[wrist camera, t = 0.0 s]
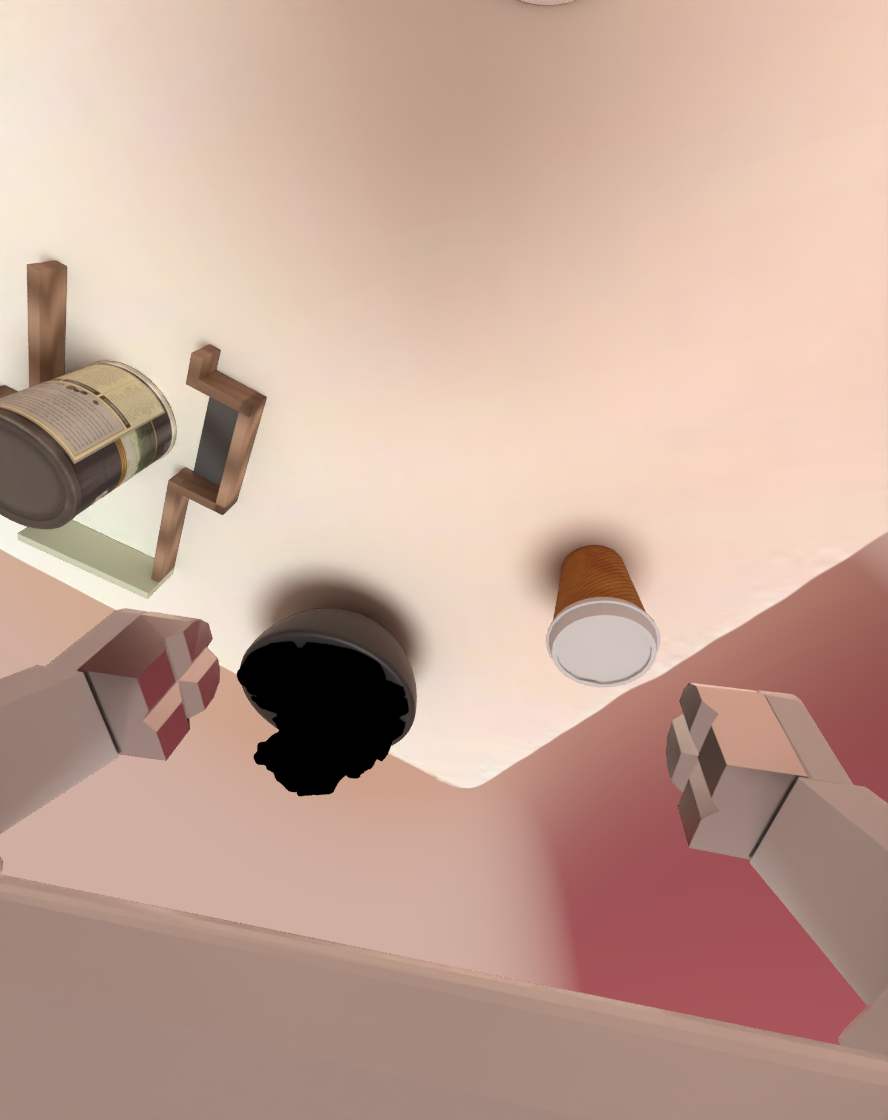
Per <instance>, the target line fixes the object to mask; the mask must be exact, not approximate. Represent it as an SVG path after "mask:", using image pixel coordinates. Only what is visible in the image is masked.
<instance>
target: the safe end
mask: <svg viewBox="0 0 888 1120" xmlns="http://www.w3.org/2000/svg"><path fill="white" fill-rule="evenodd" d="M18 540H20V541H22V542H24V543H26V544H28V545H31V546H33V547H35V548H37V549H39V550H42V551H44V552H46V553H48V554H50V555H52V556H55V557H57V558H59V559H61V560H63V561H66V562H68V563H70V564H72V565H74V566H77V567H79V568H81V569H83V570H85V571H87V572H90V573H92V574H94V575H96V576H98V577H101V578H103V579H105V580H107V581H109V582H112V583H114V584H116V585H118V586H120V587H122V588H125V589H127V590H129V591H131V592H133V593H136V594H138V595H140V596H142V597H144V598H147V599H148V598H149V597H150V596H151V595H152V594H153V593H154V592H155V591H156V590H157V589H158V588H159V587H160V586H161V585H162V584H163V583H164V582H165V581H166V580H167V579H168V578H169V577H170V576H171V575H172V574H173V570H174V568H173V569H172V570H171V571H170V572H169V573H168V574H167V575H166V576H165V577H164V578H163V579H162V580H161V581H160V582H156V581H154V580H152V579H151V576H152V570H153V565H154V558H152V557H150V556H148V555H145V554H143V553H141V552H139V551H137V550H135V549H133V548H131V547H128V546H126V545H124V544H122V543H120V542H118V541H116V540H114V539H111V538H109V537H107V536H105V535H103V534H101V533H99V532H97V531H94V530H92V529H90V528H88V527H86V526H84V525H82V524H80V523H77V522H75V521H73V520H71V521H70V522H68V523H67V524H65V525H64V526H62V527H59V528H55V529H36V528H31V527H27V528H25V529H24V530H22V531H20V532H19V533H18Z"/></svg>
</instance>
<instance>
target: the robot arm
mask: <svg viewBox="0 0 888 1120" xmlns="http://www.w3.org/2000/svg"><path fill="white" fill-rule="evenodd" d="M520 1H523V2H527V3H531V4H539V5H555V4H562V3H568V2H571V1H575V0H520ZM212 639H213V638H212V634H211V631H210V628H209V624H208V623H206V622H204V621H203V620H201V619H195V618H188V617H182V616H175V615H169V614H162V613H156V612H146V611H139V610H133V609H126V608H125V609H121V610H116V611H114V612H113V613H112V614H110V615H109V616H108V617H106V618H105V619H104V620H103V621H101V622H100V623H99V624H98V625H97V626H95V627H94V628H93V629H91V630H90V631H89V632H88V633H86V634H85V635H84V636H83V637H82V638H80V639H79V640H78V641H77V642H75V643H74V644H73V645H71V646H70V647H69V648H68V649H67V650H66V651H64V652H63V653H62V654H60V655H59V656H58V657H56V658H55V659H54V660H53V661H51V662H50V663H49V664H48V665H46V666H38V665H36V666H34V667H31V668H28V669H26V670H23V671H20V672H18V673H15V674H12V675H10V676H7V677H4V678H2V679H0V834H1V833H2V832H4V831H5V830H7V829H9V828H10V827H12V826H13V825H15V824H16V823H18V822H19V821H21V820H22V819H24V818H25V817H27V816H29V815H30V814H32V813H33V812H35V811H36V810H38V809H39V808H41V807H42V806H44V805H45V804H47V803H49V802H50V801H51V800H53V799H55V798H56V797H58V796H59V795H61V794H62V793H64V792H66V791H67V790H69V789H70V788H72V787H73V786H75V785H76V784H78V783H79V782H81V781H82V780H84V779H85V778H87V777H89V776H90V775H92V774H93V773H95V772H96V771H98V770H99V769H101V768H102V767H104V766H105V765H107V764H109V763H110V762H112V761H113V760H114V759H116V758H118V754H121V755H128V756H135V757H144V758H150V759H158V760H165V761H166V760H167V759H168V758H169V756H170V755H171V754H172V752H173V751H174V750H175V749H176V747H177V746H178V745H179V743H180V742H181V741H182V739H183V738H184V737H185V735H186V734H187V733H188V731H189V730H190V725H189V724H190V723H189V718H191V717H192V716H194V715H196V714H198V713H200V712H202V711H204V710H205V709H206V708H207V706H208V705H209V703H210V702H211V701H212V699H213V698H214V695H215V693H216V690H217V687H218V684H219V680H220V667H219V663H218V658H217V657H216V656H215V655H214V654H213V653H212V652H211V651H210V650H209V649H208V648H207V647H208V645H209V643H210V642H211V640H212ZM680 705H681V707H682V711H683V714H682V715H681V716H679V717H678V718H676V719H675V720H673V721H672V723H671V726H670V730H669V733H668V736H667V748H666V757H667V766H668V770H669V775H670V778H671V781H672V782H673V783H674V784H675V785H676V786H677V787H678V788H679V789H680V791H682V792H683V794H682V797H681V799H680V802H679V804H678V809H679V813H680V817H681V821H682V824H683V828H684V832H685V836H686V839H687V843H688V847H689V848H693V849H699V850H704V851H710V852H714V853H720V854H725V855H730V856H735V857H741V858H745V859H750V860H751V861H750V863H751V865H752V866H753V867H754V868H755V870H756V871H757V872H758V873H759V874H760V876H761V877H762V878H763V879H764V881H765V882H766V883H767V884H768V885H769V887H770V888H771V889H772V890H773V891H774V893H775V894H776V895H777V896H778V897H779V899H780V900H781V901H782V902H783V904H784V905H785V906H786V907H787V909H789V911H790V912H791V913H792V915H793V916H794V917H795V918H796V920H797V921H798V922H799V923H800V924H801V926H802V927H803V928H804V929H805V931H806V932H807V933H808V934H809V935H810V937H811V938H812V939H813V940H814V941H815V943H816V944H817V945H818V946H819V948H820V949H821V950H822V951H823V952H824V954H825V955H826V956H827V957H828V958H829V960H830V961H831V962H832V963H833V965H834V966H835V967H836V968H837V970H838V971H839V972H840V973H841V974H842V976H843V977H844V978H845V979H846V981H847V982H848V983H849V984H850V985H851V987H852V988H853V989H854V990H855V991H856V993H857V994H858V995H859V996H860V998H861V999H862V1000H863V1001H864V1002H865V1004H866V1005H867V1006H868V1007H867V1008H866V1009H865V1010H863V1012H861V1014H859V1015H858V1016H857V1017H856V1019H854V1020H853V1021H852V1022H851V1023H850V1024H849V1025H848V1026H847V1027H846V1028H845V1029H844V1031H843V1032H842V1034H841V1035H840V1037H839V1038H838V1040H839V1043H840V1045H841V1046H839V1045H834V1044H829V1043H825V1042H819V1041H815V1040H810V1039H805V1038H800V1037H795V1036H790V1035H785V1034H780V1033H775V1032H770V1031H766V1030H760V1029H756V1028H751V1027H746V1026H741V1025H736V1024H731V1023H726V1022H721V1021H717V1020H711V1019H707V1018H701V1017H697V1016H692V1015H687V1014H683V1013H678V1012H672V1011H668V1010H663V1009H658V1008H653V1007H648V1006H643V1005H638V1004H633V1003H629V1002H624V1001H619V1000H614V999H609V998H604V997H599V996H594V995H590V994H585V993H580V992H575V991H570V990H565V989H560V988H555V987H551V986H546V985H541V984H536V983H531V982H526V981H521V980H516V979H512V978H507V977H502V976H497V975H492V974H487V973H482V972H477V971H472V970H468V969H463V968H458V967H452V966H448V965H443V964H438V963H433V962H428V961H424V960H419V959H414V958H409V957H404V956H399V955H394V954H389V953H384V952H379V951H374V950H370V949H365V948H360V947H355V946H350V945H345V944H340V943H335V942H330V941H326V940H321V939H316V938H310V937H306V936H301V935H296V934H291V933H286V932H281V931H276V930H271V929H266V928H261V927H257V926H252V925H247V924H242V923H237V922H232V921H227V920H222V919H217V918H213V917H208V916H203V915H198V914H193V913H188V912H183V911H178V910H173V909H168V908H163V907H158V906H154V905H148V904H144V903H139V902H134V901H129V900H124V899H119V898H114V897H109V896H105V895H100V894H95V893H90V892H85V891H80V890H75V889H70V888H65V887H60V886H55V885H50V884H46V883H40V882H36V881H31V880H26V879H21V878H16V877H11V876H6V875H1V874H0V1120H888V803H886V802H885V801H883V800H882V799H881V798H880V797H878V796H877V795H875V794H874V793H873V792H872V791H870V790H869V789H867V788H866V787H862V786H856V785H853V784H852V782H851V780H850V779H849V778H848V776H847V774H846V772H845V771H844V769H843V767H842V766H841V764H840V763H839V761H838V759H837V758H836V756H835V755H834V753H833V751H832V750H831V748H830V747H829V745H828V743H827V742H826V740H825V738H824V737H823V735H822V734H821V732H820V731H819V729H818V727H817V726H816V724H815V722H814V721H813V719H812V717H811V716H810V714H809V713H808V711H807V709H806V708H805V706H804V705H803V703H802V701H801V700H800V699H799V698H797V697H796V696H795V695H793V694H786V693H776V692H768V691H759V690H758V691H752V690H745V689H735V688H728V687H720V686H712V685H704V684H696V683H689V684H688V685H687V686H686V687H685V689H684V690H683V693H682V696H681V698H680ZM2 866H3V860H2V859H1V857H0V872H1V871H2Z"/></svg>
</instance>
